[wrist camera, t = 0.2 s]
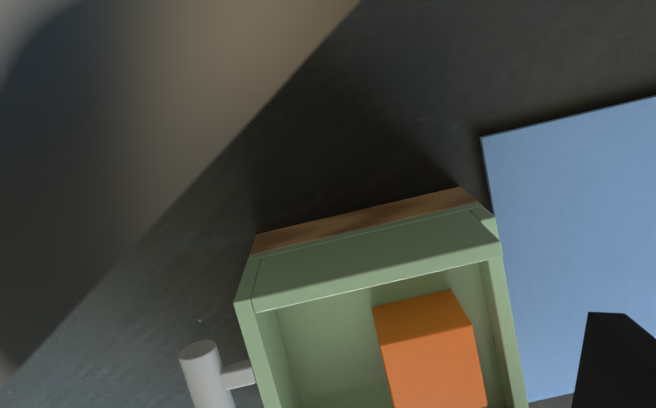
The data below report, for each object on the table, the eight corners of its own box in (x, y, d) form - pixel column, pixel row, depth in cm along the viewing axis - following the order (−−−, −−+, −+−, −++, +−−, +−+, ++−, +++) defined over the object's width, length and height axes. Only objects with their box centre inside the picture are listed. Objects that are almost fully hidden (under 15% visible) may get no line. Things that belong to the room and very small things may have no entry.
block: (451, 288, 29) (472, 323, 25) (465, 361, 30) (488, 406, 26) (370, 306, 29) (379, 345, 25) (387, 378, 30) (398, 426, 26)
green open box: (478, 201, 28) (523, 240, 22) (515, 406, 31) (564, 491, 25) (192, 268, 29) (160, 324, 23) (253, 464, 32) (239, 561, 26)
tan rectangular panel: (460, 185, 32) (478, 201, 29) (495, 371, 35) (515, 405, 31) (255, 234, 32) (248, 254, 29) (305, 414, 35) (304, 452, 32)
